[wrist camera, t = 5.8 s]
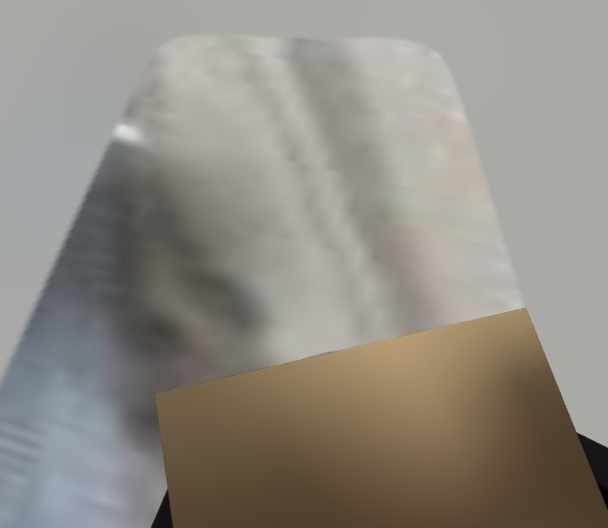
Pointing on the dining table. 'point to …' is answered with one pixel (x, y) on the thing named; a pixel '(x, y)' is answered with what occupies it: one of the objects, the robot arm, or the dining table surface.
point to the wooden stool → (384, 438)
